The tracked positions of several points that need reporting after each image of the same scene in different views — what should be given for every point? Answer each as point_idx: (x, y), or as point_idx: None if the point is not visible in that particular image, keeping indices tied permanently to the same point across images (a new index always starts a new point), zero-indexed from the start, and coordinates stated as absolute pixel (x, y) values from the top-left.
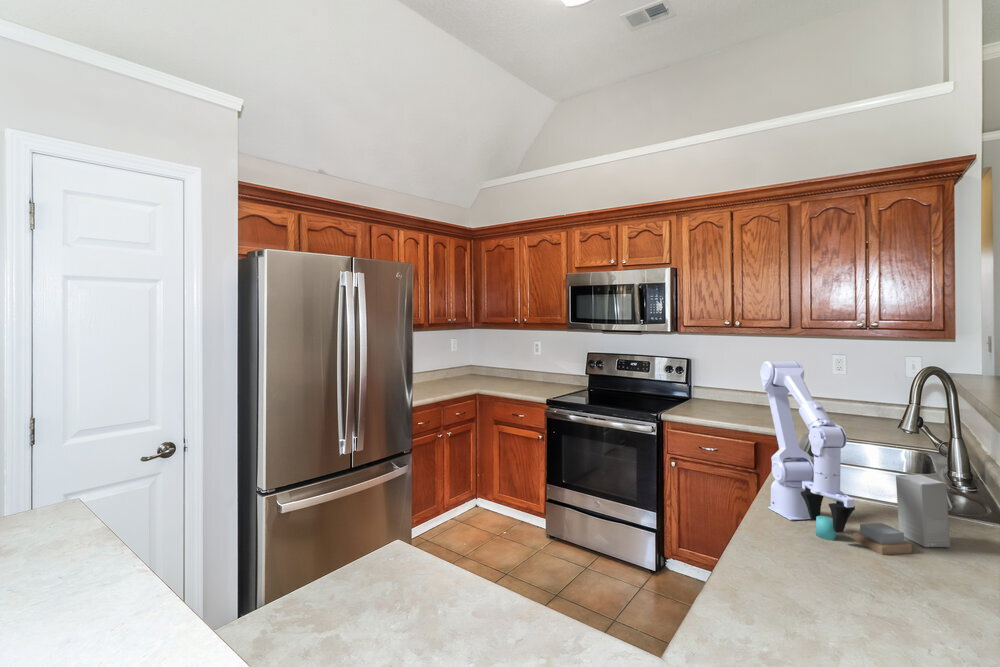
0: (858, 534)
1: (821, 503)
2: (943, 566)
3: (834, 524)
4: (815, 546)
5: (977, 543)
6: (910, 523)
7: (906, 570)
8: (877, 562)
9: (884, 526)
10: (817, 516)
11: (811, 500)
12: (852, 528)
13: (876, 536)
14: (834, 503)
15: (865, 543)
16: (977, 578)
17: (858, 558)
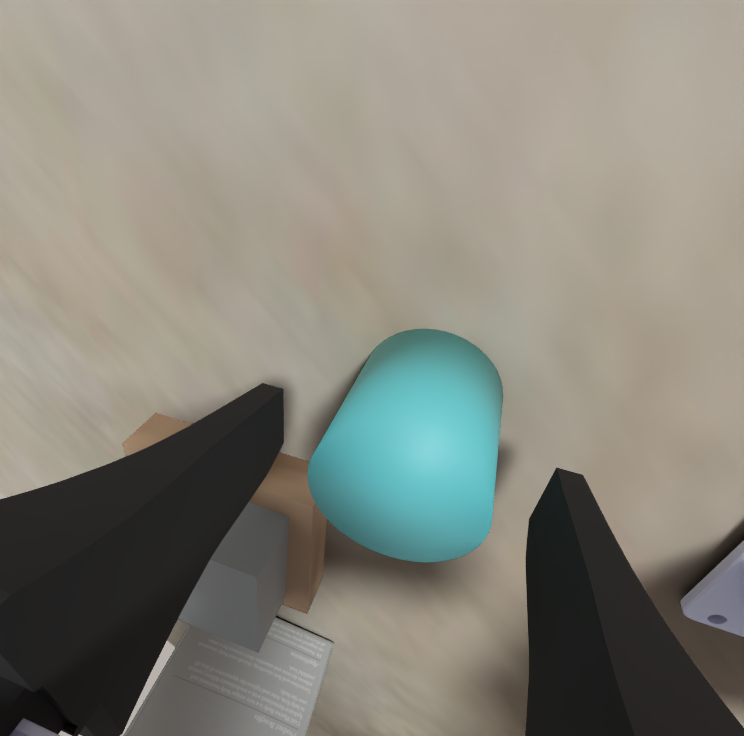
0: (284, 503)
1: (526, 721)
2: None
3: (221, 416)
4: (296, 107)
5: None
6: (228, 696)
7: (6, 343)
8: (65, 303)
9: (209, 618)
10: (483, 502)
11: (595, 732)
12: (454, 597)
13: None
14: (12, 675)
15: None
16: (8, 481)
17: (100, 249)
